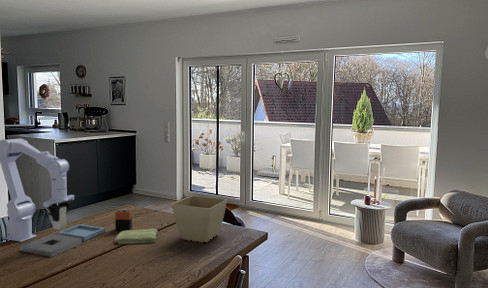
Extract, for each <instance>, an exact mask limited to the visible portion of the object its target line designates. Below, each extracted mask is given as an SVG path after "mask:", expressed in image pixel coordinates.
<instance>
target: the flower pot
mask: <svg viewBox="0 0 488 288" xmlns="http://www.w3.org/2000/svg"><path fill="white" fill-rule="evenodd" d="M227 200H228V199H227V198H226V199H225V198H217V197H212V196H211V197H210V196H203V195H202V196H201V195H190V196H187V197H185V198H183V199H180V200H178V201H175V202H172V204H171V207H172V212H173V216H174V222H175V224H176V226H177V231H178V233H179V236H180V238H181V239H182V240H186V241H191V240H192V241H191V242H197V241H198V242H197V243H203V242H206V243H208V242H209V241H211V240H212V239H214V238H215V237H217V236H218V235H219V232H220V230H221V228H222V223H223V221H224V217H225V212H226V207H227V202H228V201H227ZM217 234H218V235H217ZM216 235H217V236H216ZM213 237H214V238H213ZM210 239H211V240H210Z"/></svg>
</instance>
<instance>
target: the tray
mask: <svg viewBox="0 0 488 288" xmlns="http://www.w3.org/2000/svg"><path fill="white" fill-rule="evenodd" d="M104 233H106V227H100V226H94V225H93V226H92V225H87V224H81V223H79V224H76V225H74V226H71V227H69V228H65V229H63V230H60V231H58V232H57V235H62V236H68V237H74V238H80V239H82V242H87V241H88V240H92V239H94V238H95V237H98V236H101V235H102V234H104Z"/></svg>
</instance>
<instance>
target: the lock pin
mask: <svg viewBox="0 0 488 288" xmlns="http://www.w3.org/2000/svg"><path fill="white" fill-rule="evenodd" d="M67 225H68V223H67V217H66V206H61V207H60V210H59V220H58V221H57V222H56V221H53V220H52V226H53V228H52V229H55V230H62V229H63V230H64V229H66V228H67Z"/></svg>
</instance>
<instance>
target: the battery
mask: <svg viewBox="0 0 488 288" xmlns="http://www.w3.org/2000/svg"><path fill="white" fill-rule="evenodd" d="M114 216H115V217H114V218H115V222H114V223H115V226H114V227H115V231H116V232H122V231H128V230H132V228H133V211H132V210H130V209H129V208H126V209H121V208H119V209H118V210H117V211H115V215H114Z"/></svg>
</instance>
